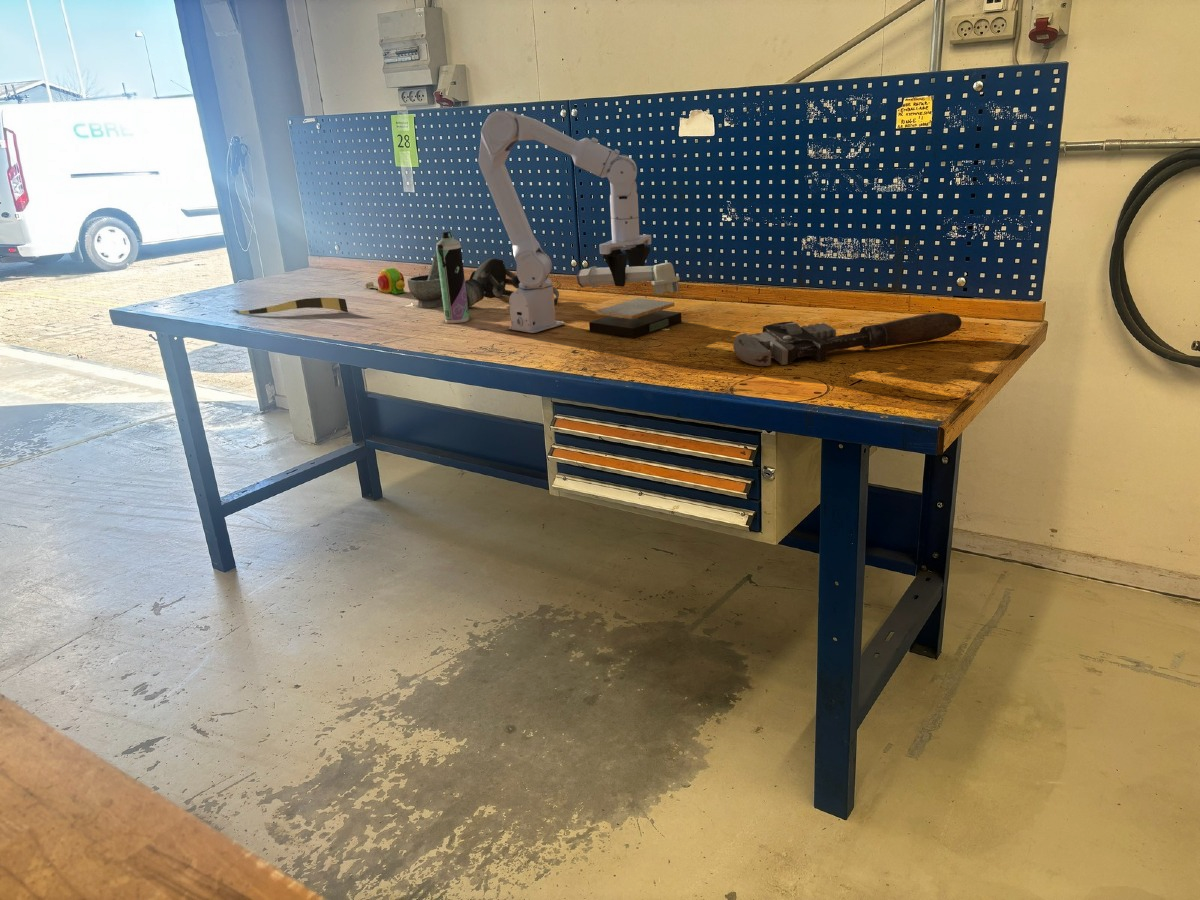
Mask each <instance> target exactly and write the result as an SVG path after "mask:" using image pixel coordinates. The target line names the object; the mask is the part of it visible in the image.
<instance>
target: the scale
mask: <svg viewBox="0 0 1200 900" xmlns="http://www.w3.org/2000/svg"><path fill="white" fill-rule="evenodd" d="M681 322H682V312H678V311H671V310H665V309H663V310H660V311H657V312H654V313H651V314H648V315H644V316H641V317H638V318H635V319H625V318H618V317H611V316H604V317H602V318H599V319H595V320H592V321H589V322H588V325H589V326H588V327H589V332H591V333H598V334H605V335H611V336H617V337H624V338H629V339H634V338H638V337H641V336H645V335H647V334H650V333H653V332H656V331H658V330H662V329H665V328H668V327H670V326H673V325H676V324H679V323H681Z"/></svg>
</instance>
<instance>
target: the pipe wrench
mask: <svg viewBox="0 0 1200 900" xmlns="http://www.w3.org/2000/svg"><path fill="white" fill-rule="evenodd" d="M962 321H963V320H962V318H961V317H960V316H959V315H958V314H953V313H948V312H933V313H931V312H930V313H923V314H919V315H914V316H908V317H904V318H899V319H894V320H890V321H885V322H882V323H876V324H871V325H865V326H862V327H861V328H860V330H859V331H856V332H852V333H846V334H840V335H837V330H836V329H835V328H833V327H832V326H831V325H829V324H827V323H825V322H821V323H815V324H808V325H802V326H801V325H800V324H798V322H794V321H783V322H774V323H771V324H766V325H763V326H762V332H758V333H757V332H756V333H750V334H749V333H747V332H745V333H741V334H738V335H737V336H736V337H735V339H734V342H733V346H732V347H733V351H734V353H735V355H736V357H737V358H738V359H739V360H740V361H742V362H744V363H746V364H749V365H753V366H758V367H769V366H771V363H772V359H774V360H775V361H776V362H777V363H779V364H780V365H781V366H785V365H790V364H791V363H793V362H794V361H795V359H799V358H803V357H809V358H812V359H813V360H815V361H817V362H821V361H826V359H827V353H831V352H835V351H841V350H847V349H850V348H851V349H852V348H859V347H862V348H863V349H864V350H871V349H876V348H883V347H892V346H893V347H894V346H901V345H909V344H916V343H922V342H930V341H934V340H937V339H941V338H944V337H948V336H949V335H951V334H954V333H955V332H956V331H959V330H960V329H961V327H962V325H963V323H962Z"/></svg>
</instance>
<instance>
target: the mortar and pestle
mask: <svg viewBox="0 0 1200 900" xmlns="http://www.w3.org/2000/svg"><path fill="white" fill-rule="evenodd" d="M407 286H408V289H409V292H410V294H411V296H412V297H413V298H415V299H416V300H417V302H418V303H417V306H418V308H422V309H430V308H438V307H441V306H443V299H442V291H441V283H440V275H439V267H438V259H437V253H436V254H435V253H434V254H433V255H432V262H431V267H430V269H429V272H428V274H423V275H416V276H412V277H409V278H408V279H407Z"/></svg>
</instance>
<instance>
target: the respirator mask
mask: <svg viewBox="0 0 1200 900" xmlns="http://www.w3.org/2000/svg"><path fill="white" fill-rule="evenodd" d="M507 277H509V278H507ZM519 284H520V281H519V279H518V277H517V274H515V273H514V272H512V271H511V270H509V269H508V268H506V266H505V262H504V260H503V259H500V258H496V257H492V258H489V259H487V260H485V261H483V262H482V263H481V264H480V265H479V266H478V267H477V268H476V270H474V271H472V273H471V274H470V276H469V279H465V286H466V295H467V303H468V309H469V308H471V307H472V306H474V305H475V304H477V303H479V302H480V301H483V299H484V298H487V299H494V298H500V297H503V296H507V297H510V295H511V294H512V293H513V292H514V291H513V290H508V289H506V286H507V285H512V287H514V288H515V289H518V288H519ZM553 294H554V295H555V297H554V305H555V304H557V303H558V300H559V297H560V292H559V290H558V289H557V288H556V287H554V286H553Z"/></svg>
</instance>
